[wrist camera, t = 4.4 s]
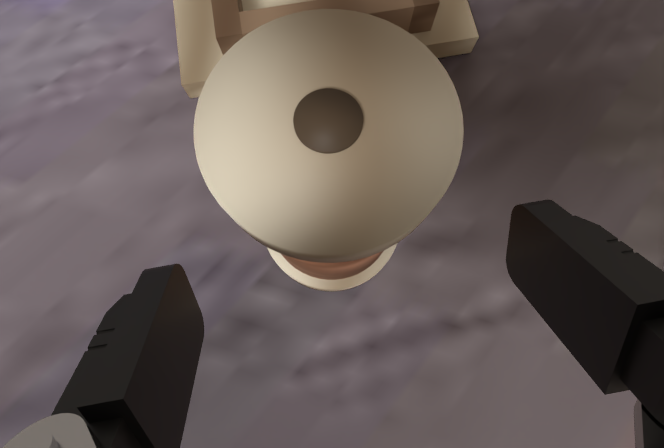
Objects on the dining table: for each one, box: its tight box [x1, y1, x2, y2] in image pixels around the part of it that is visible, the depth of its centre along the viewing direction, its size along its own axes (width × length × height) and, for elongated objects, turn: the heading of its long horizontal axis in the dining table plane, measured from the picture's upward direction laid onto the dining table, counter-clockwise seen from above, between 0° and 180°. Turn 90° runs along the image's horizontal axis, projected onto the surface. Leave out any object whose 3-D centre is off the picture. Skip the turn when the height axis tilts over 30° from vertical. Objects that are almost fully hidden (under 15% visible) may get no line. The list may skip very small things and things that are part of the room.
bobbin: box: [194, 9, 464, 291], centre depth 14 cm, size 6×6×10 cm
